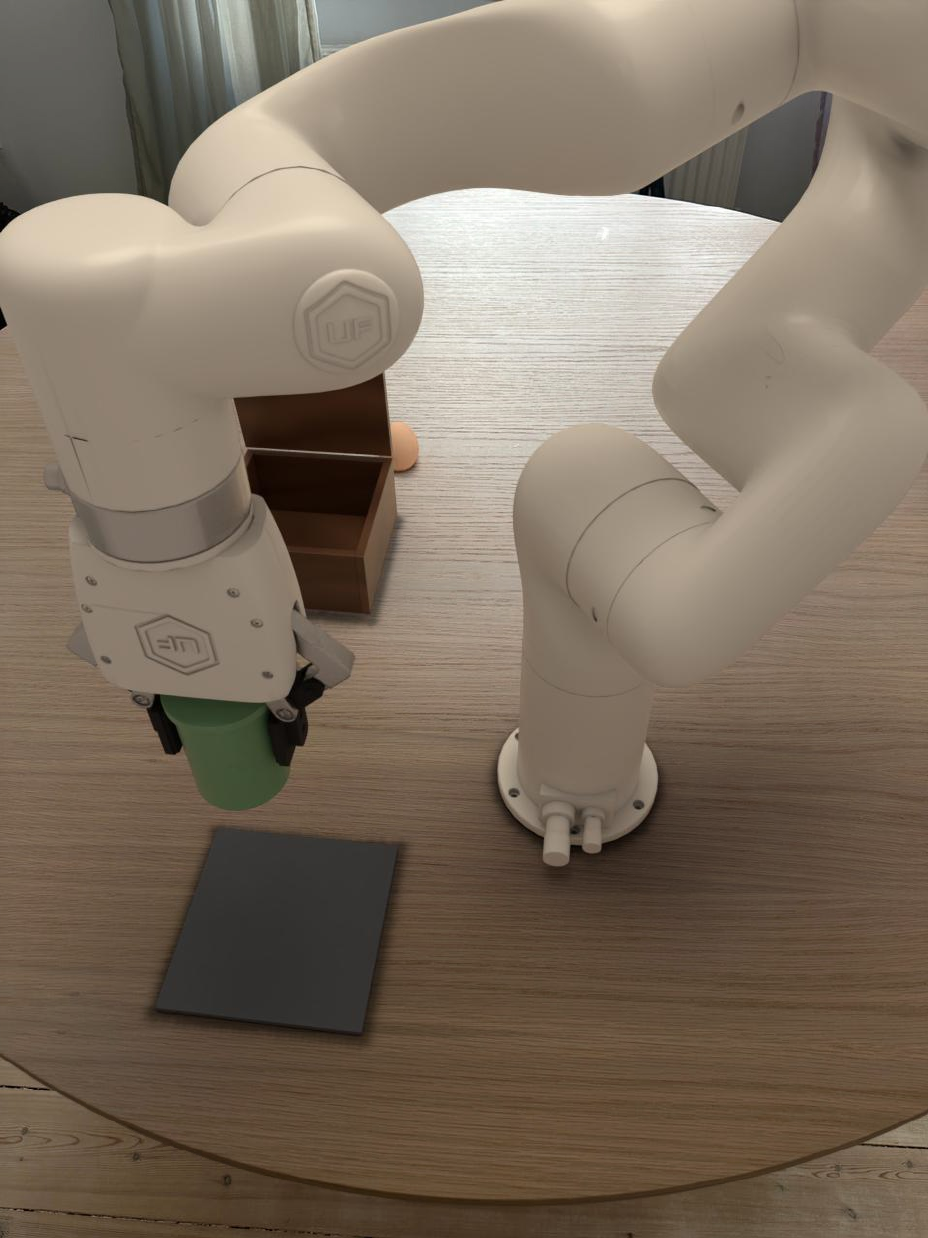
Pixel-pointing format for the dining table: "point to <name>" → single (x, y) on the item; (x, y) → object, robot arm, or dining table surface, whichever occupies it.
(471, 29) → the robot arm
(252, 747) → the green solid cylinder
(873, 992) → the dining table surface
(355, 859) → the mat
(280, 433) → the lid
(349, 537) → the chest
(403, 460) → the egg
